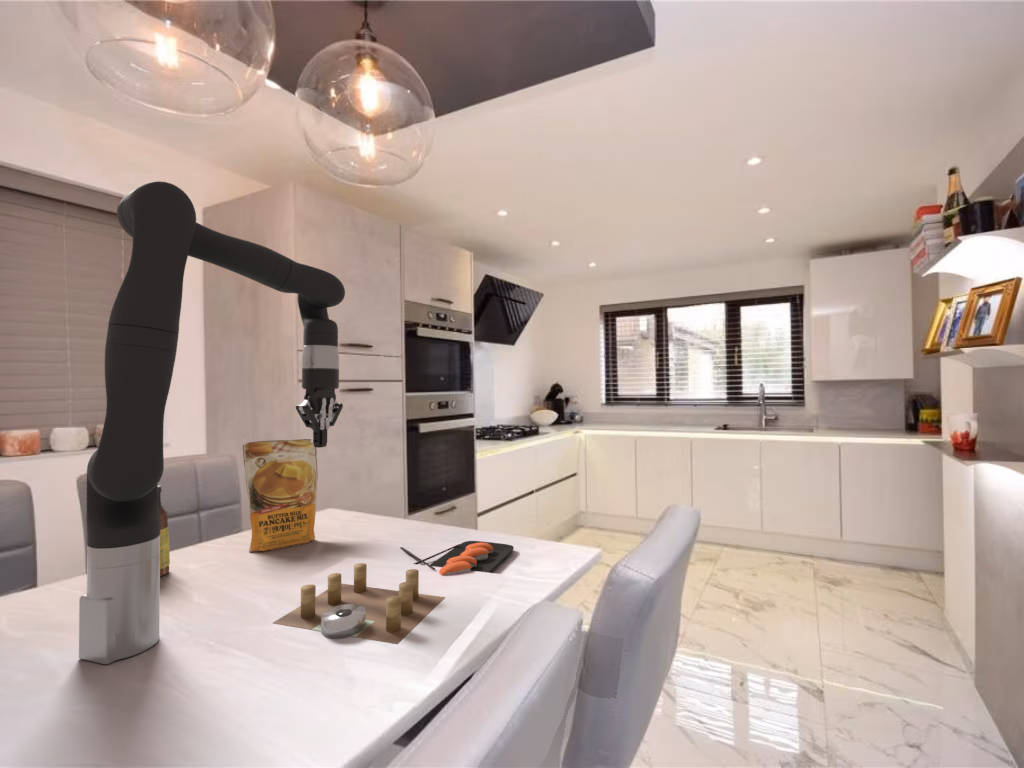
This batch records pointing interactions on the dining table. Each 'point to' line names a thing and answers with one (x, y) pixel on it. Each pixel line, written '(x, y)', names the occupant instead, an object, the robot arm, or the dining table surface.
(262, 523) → the pancake mix bag
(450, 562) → the sushi plate
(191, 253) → the robot arm
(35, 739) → the dining table surface
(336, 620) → the pot lid
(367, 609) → the board
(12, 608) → the dining table surface
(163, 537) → the sauce bottle
